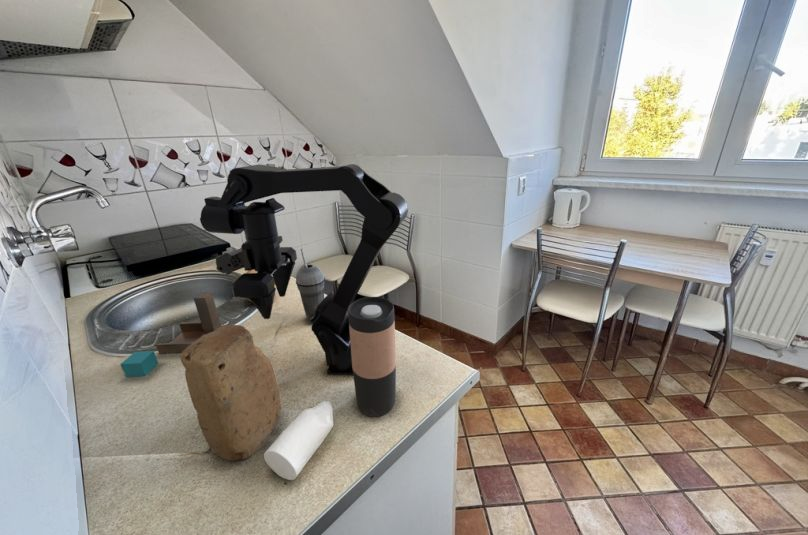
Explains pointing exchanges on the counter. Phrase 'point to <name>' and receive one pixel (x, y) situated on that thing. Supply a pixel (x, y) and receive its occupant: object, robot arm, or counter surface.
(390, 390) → the travel mug
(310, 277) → the beverage cup
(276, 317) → the counter surface
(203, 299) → the brown angle bracket
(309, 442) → the white bottle
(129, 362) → the cube
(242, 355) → the porous brown stone
